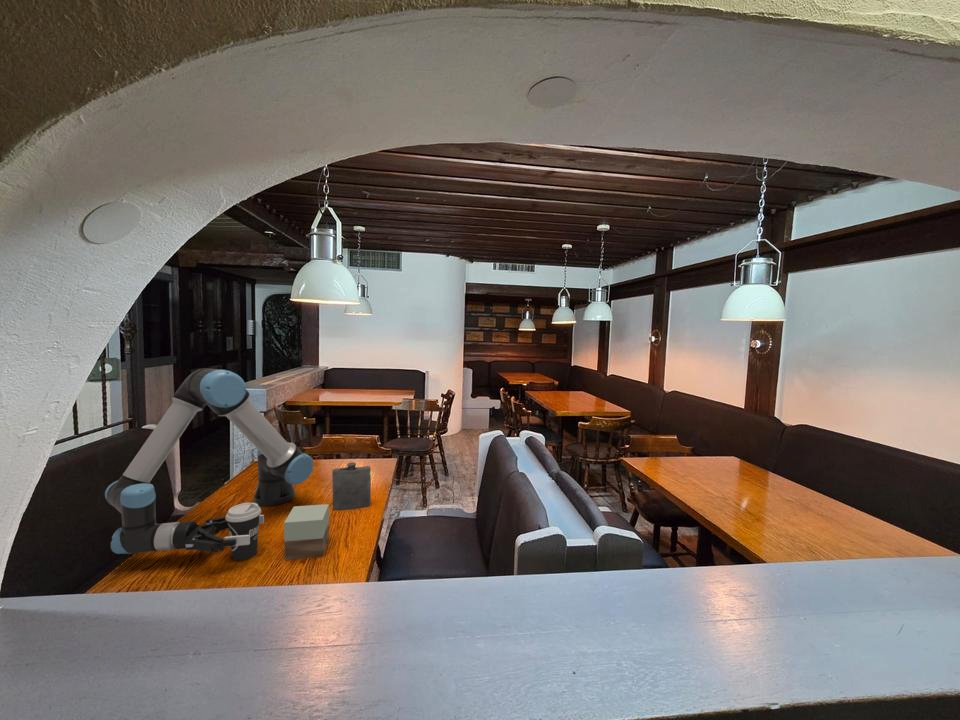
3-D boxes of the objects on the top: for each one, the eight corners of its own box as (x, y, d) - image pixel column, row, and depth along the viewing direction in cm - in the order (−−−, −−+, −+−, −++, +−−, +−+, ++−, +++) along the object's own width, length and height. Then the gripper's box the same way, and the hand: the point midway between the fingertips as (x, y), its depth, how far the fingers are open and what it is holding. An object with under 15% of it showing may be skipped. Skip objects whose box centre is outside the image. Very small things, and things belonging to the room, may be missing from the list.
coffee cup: (245, 565, 116) (244, 517, 114) (218, 561, 117) (217, 513, 116) (269, 548, 125) (268, 503, 124) (243, 544, 127) (242, 500, 126)
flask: (370, 507, 155) (370, 463, 154) (332, 511, 151) (331, 466, 150) (370, 503, 158) (370, 460, 157) (333, 507, 154) (332, 463, 153)
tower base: (293, 542, 129) (293, 524, 129) (328, 538, 132) (328, 521, 131) (285, 561, 119) (284, 542, 118) (323, 557, 121) (323, 538, 121)
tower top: (294, 524, 129) (293, 506, 129) (329, 521, 131) (328, 504, 131) (284, 541, 118) (284, 522, 118) (322, 538, 121) (322, 519, 120)
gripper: (198, 527, 129) (269, 521, 133) (154, 572, 105) (242, 563, 110) (197, 505, 128) (268, 500, 133) (152, 545, 105) (241, 537, 109)
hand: (257, 528), depth 121 cm, fingers open, 12 cm apart
